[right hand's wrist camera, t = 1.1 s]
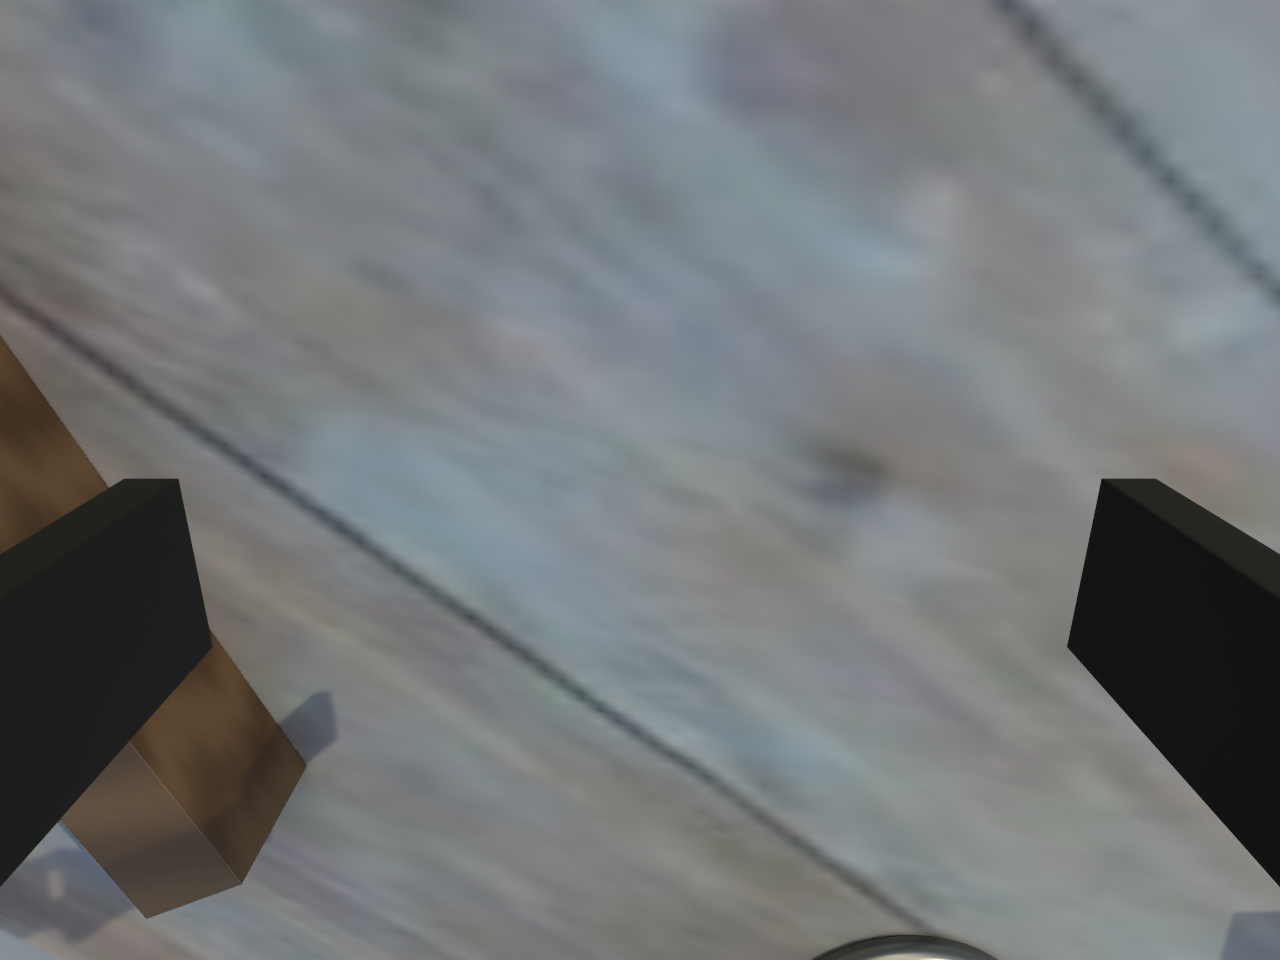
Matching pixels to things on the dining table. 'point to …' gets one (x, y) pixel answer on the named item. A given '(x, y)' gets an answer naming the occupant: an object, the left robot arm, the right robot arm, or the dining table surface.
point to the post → (179, 729)
